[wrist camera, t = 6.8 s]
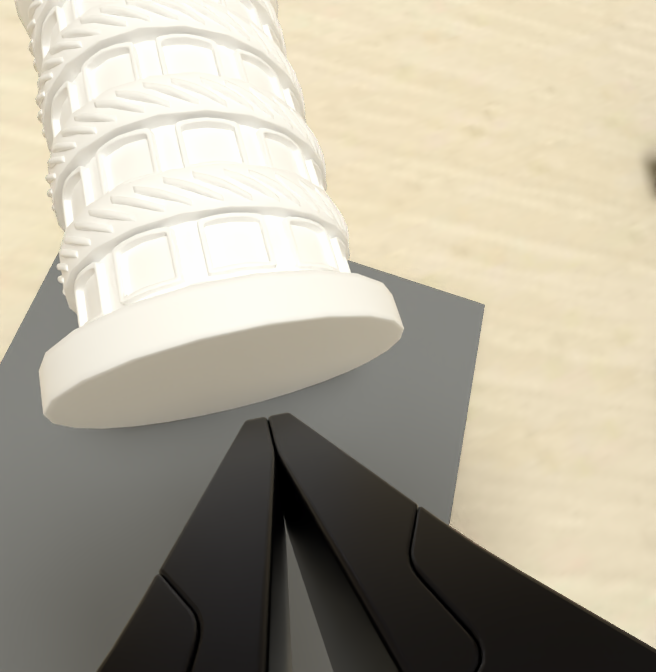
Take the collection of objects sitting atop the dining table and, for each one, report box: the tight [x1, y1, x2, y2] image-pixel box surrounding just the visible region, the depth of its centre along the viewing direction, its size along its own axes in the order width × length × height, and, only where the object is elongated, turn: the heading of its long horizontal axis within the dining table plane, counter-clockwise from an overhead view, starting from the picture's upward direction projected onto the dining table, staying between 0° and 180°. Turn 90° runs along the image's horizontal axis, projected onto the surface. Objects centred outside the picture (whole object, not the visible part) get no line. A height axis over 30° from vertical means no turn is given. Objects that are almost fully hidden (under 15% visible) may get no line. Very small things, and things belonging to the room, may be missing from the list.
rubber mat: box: [0, 253, 485, 672], centre depth 18 cm, size 28×22×1 cm
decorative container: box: [14, 0, 404, 429], centre depth 17 cm, size 12×12×18 cm
